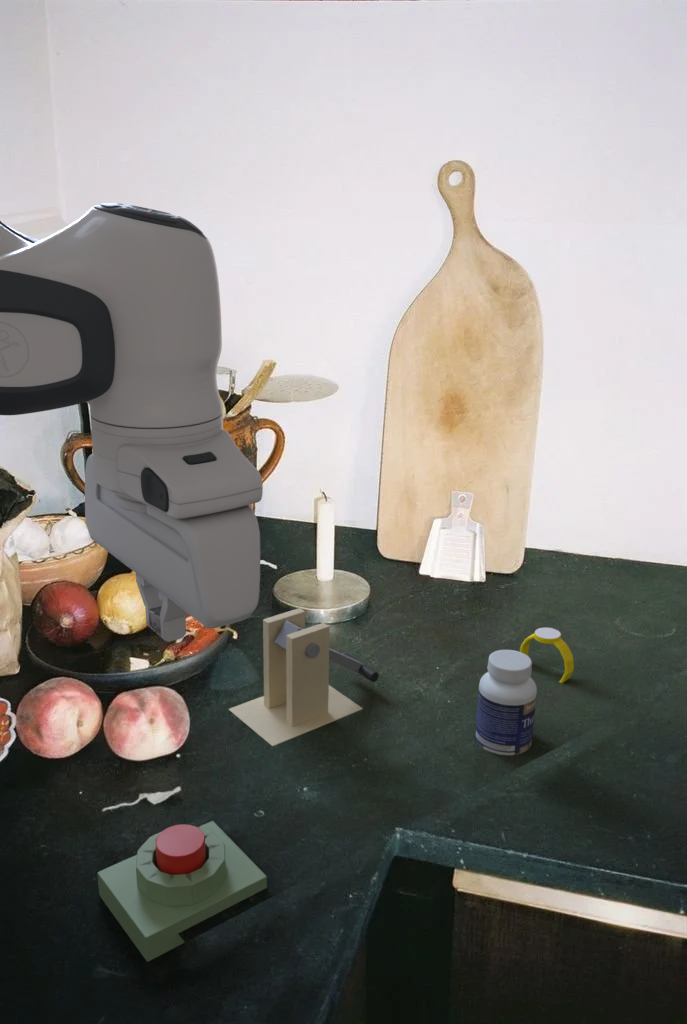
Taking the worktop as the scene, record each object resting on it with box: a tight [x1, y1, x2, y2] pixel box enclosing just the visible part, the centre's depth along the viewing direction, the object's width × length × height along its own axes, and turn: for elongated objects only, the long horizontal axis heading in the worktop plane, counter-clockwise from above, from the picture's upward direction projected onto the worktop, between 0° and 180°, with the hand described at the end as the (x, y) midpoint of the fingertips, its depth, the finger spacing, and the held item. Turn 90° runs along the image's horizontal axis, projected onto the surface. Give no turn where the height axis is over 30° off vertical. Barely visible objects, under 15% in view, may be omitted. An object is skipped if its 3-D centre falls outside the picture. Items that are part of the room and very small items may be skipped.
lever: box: [275, 620, 380, 683], centre depth 94 cm, size 12×5×2 cm
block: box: [96, 820, 268, 963], centre depth 70 cm, size 10×8×4 cm
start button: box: [156, 823, 206, 875], centre depth 69 cm, size 4×4×2 cm
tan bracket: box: [228, 607, 364, 747], centre depth 92 cm, size 11×8×11 cm
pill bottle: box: [474, 649, 538, 756], centre depth 88 cm, size 5×5×10 cm
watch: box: [519, 627, 575, 684], centre depth 101 cm, size 6×3×6 cm, turn 47°
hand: (166, 632), depth 69 cm, fingers closed
